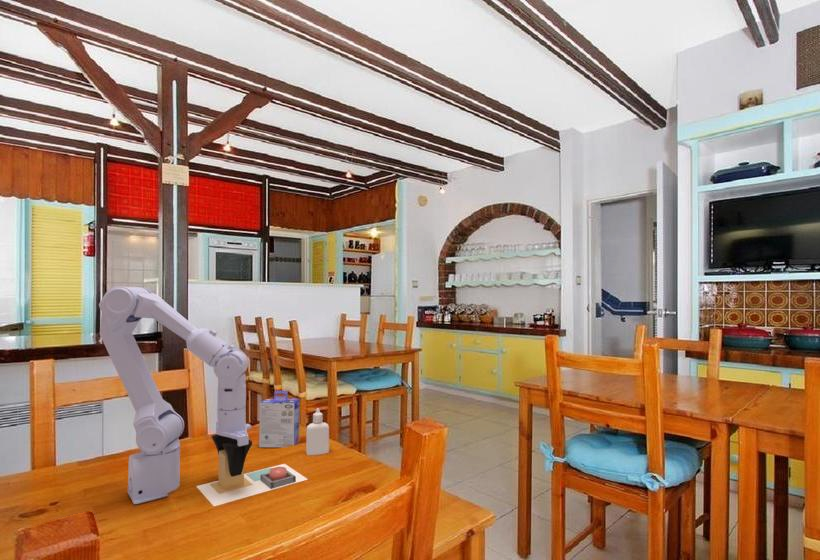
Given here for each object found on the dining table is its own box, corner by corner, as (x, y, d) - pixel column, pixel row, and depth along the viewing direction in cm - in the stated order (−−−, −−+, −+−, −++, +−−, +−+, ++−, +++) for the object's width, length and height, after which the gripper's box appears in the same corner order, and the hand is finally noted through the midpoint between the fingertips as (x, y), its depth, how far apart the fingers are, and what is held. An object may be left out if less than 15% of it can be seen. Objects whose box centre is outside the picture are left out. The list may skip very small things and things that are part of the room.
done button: (273, 483, 99) (273, 474, 99) (266, 478, 102) (266, 469, 102) (289, 479, 102) (289, 470, 102) (282, 474, 104) (282, 465, 104)
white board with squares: (213, 510, 90) (213, 500, 90) (196, 489, 99) (196, 480, 99) (308, 482, 103) (308, 473, 103) (284, 467, 112) (284, 458, 112)
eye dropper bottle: (310, 451, 122) (310, 406, 123) (330, 452, 122) (330, 406, 122) (304, 457, 118) (304, 410, 118) (325, 459, 117) (325, 411, 118)
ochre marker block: (224, 489, 97) (225, 456, 97) (218, 483, 100) (218, 450, 100) (243, 484, 100) (244, 451, 100) (237, 478, 103) (237, 446, 103)
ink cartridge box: (300, 441, 131) (300, 389, 131) (295, 448, 125) (295, 394, 126) (265, 441, 131) (265, 389, 131) (258, 448, 125) (258, 394, 126)
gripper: (263, 410, 97) (262, 476, 97) (238, 398, 108) (237, 457, 108) (228, 416, 93) (228, 485, 93) (206, 403, 104) (206, 464, 104)
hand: (231, 471), depth 100 cm, fingers open, 5 cm apart
